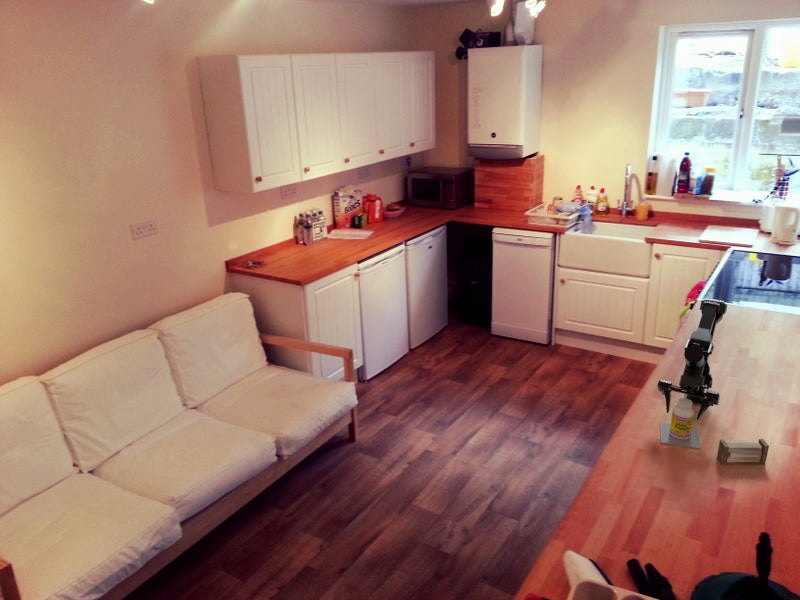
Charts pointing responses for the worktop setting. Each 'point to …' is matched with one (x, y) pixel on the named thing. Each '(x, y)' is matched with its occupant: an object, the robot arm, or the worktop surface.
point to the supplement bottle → (682, 419)
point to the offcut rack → (742, 452)
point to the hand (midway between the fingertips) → (682, 416)
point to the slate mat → (670, 440)
